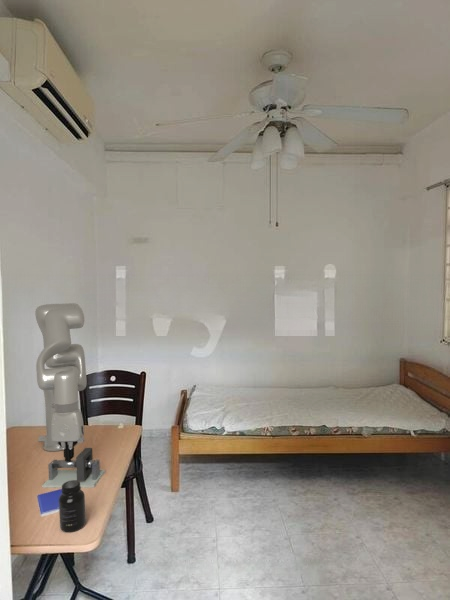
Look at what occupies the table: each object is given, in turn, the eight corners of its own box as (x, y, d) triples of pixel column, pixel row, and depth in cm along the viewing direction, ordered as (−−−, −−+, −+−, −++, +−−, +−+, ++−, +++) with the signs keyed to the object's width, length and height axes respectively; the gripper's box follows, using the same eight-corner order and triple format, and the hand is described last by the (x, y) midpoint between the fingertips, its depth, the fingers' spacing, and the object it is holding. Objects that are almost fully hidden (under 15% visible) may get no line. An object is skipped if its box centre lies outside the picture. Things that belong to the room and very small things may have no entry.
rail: (49, 480, 139) (48, 463, 139) (54, 474, 143) (53, 458, 143) (95, 479, 138) (95, 462, 138) (100, 474, 142) (99, 457, 142)
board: (42, 487, 136) (42, 484, 136) (57, 472, 147) (57, 469, 146) (93, 487, 135) (93, 484, 135) (105, 472, 146) (105, 469, 146)
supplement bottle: (64, 519, 116) (62, 478, 116) (88, 518, 117) (87, 477, 116) (56, 534, 109) (54, 490, 109) (82, 532, 110) (80, 489, 110)
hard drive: (70, 505, 122) (64, 487, 133) (40, 513, 118) (37, 494, 129) (70, 510, 122) (64, 492, 133) (41, 518, 118) (37, 499, 129)
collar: (76, 480, 136) (76, 457, 136) (86, 469, 144) (85, 447, 144) (84, 480, 136) (83, 457, 136) (93, 469, 144) (92, 447, 144)
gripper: (40, 410, 136) (42, 464, 137) (84, 410, 136) (86, 463, 137) (50, 404, 144) (52, 454, 145) (92, 403, 143) (94, 454, 144)
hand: (69, 459), depth 141 cm, fingers closed
